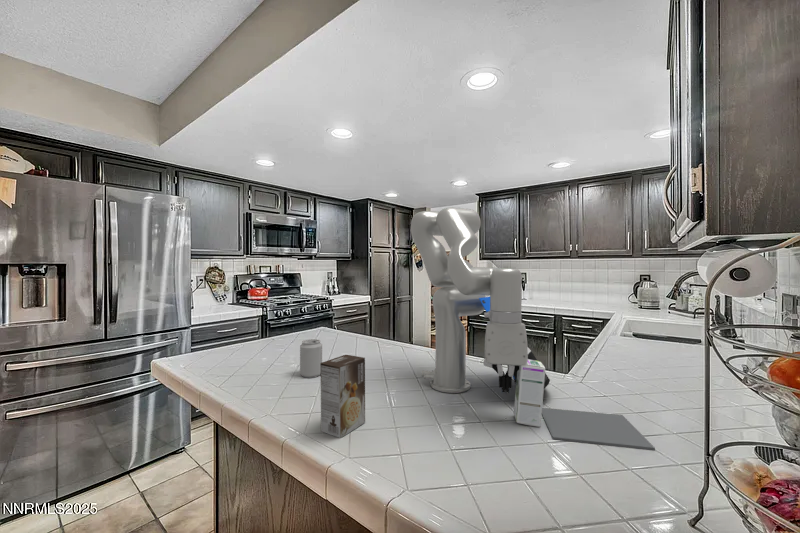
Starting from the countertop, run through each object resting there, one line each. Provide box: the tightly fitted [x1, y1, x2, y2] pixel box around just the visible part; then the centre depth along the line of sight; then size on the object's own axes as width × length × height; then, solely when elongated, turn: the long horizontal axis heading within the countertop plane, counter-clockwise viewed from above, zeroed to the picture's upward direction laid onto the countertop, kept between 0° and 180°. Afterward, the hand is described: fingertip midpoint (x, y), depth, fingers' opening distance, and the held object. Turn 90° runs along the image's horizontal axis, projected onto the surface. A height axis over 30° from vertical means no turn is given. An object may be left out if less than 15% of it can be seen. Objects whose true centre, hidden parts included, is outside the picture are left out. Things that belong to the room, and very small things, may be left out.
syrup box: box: [513, 359, 546, 428], centre depth 84 cm, size 6×6×14 cm
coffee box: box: [320, 354, 366, 439], centre depth 81 cm, size 9×6×16 cm
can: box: [299, 338, 323, 379], centre depth 118 cm, size 8×8×12 cm
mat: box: [541, 407, 656, 451], centre depth 81 cm, size 20×16×1 cm
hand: (505, 390), depth 85 cm, fingers closed
